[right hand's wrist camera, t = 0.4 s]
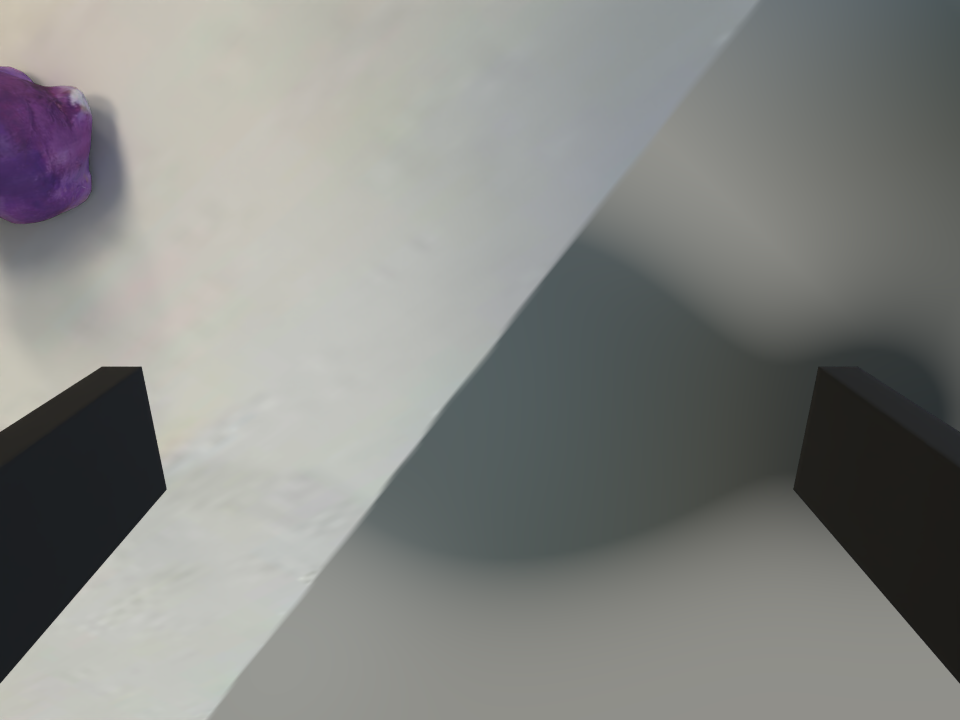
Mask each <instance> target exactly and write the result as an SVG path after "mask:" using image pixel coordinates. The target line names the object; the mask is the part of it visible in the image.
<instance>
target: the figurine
mask: <svg viewBox="0 0 960 720" xmlns="http://www.w3.org/2000/svg"><path fill="white" fill-rule="evenodd" d="M91 132H92V113H91V110H90V107H89V104H88V101H87V100H86V98H85V96H84V94H83V93H82V92H81V91H80V90H79V89H78V88H76V87H73V86H55V87H44V86H41V85H38V84H35V83H33V82H32V80H31V79H30V78H29V77H28V76H27V75H25V74H24V73H23V72H21V71H19V70H17V69H14V68H12V67H0V217H1V218H3V219H5V220H7V221H9V222H11V223H17V224H27V223H35V222H40V221H44V220H47V219H49V218H52V217H55V216H57V215H59V214H61V213H63V212H66V211H68V210H70V209H72V208H75V207H77V206H78V205H80V204H81V203H83V202H84V201H86V200H87V198H88V196H89V194H90V193H91V191H92V186H91V174H90V172H89V152H90V148H91Z"/></svg>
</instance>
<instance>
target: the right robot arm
mask: <svg viewBox="0 0 960 720" xmlns="http://www.w3.org/2000/svg"><path fill="white" fill-rule="evenodd" d="M166 490H167V489H166V484H165V479H164V474H163V469H162V464H161V459H160V454H159V450H158V445H157V440H156V435H155V430H154V425H153V420H152V415H151V410H150V406H149V401H148V396H147V391H146V386H145V381H144V376H143V371H142V367H101V368H99V369H98V370H96V371H95V372H93V373H91V374H90V375H88V376H87V377H85V378H84V379H82V380H81V381H79V382H77V383H76V384H74V385H73V386H71V387H70V388H68V389H67V390H65V391H63V392H62V393H60V394H59V395H57V396H56V397H54V398H53V399H51V400H49V401H48V402H46V403H45V404H43V405H42V406H40V407H38V408H37V409H35V410H34V411H32V412H31V413H29V414H28V415H26V416H24V417H23V418H21V419H20V420H18V421H17V422H15V423H14V424H12V425H10V426H9V427H7V428H6V429H4V430H3V431H1V432H0V683H1V682H2V681H3V680H4V678H5V677H6V676H7V675H8V674H9V673H10V671H11V670H12V669H13V668H14V667H15V666H16V664H17V663H18V662H19V661H20V660H21V659H22V657H23V656H24V655H25V654H26V653H27V652H28V650H29V649H30V648H31V647H32V646H33V645H34V643H35V642H36V641H37V640H38V639H39V638H40V636H41V635H42V634H43V633H44V632H45V631H46V629H47V628H48V627H49V626H50V625H51V624H52V622H53V621H54V620H55V619H56V618H57V617H58V615H59V614H60V613H61V612H62V611H63V610H64V608H65V607H66V606H67V605H68V604H69V603H70V601H71V600H72V599H73V598H74V597H75V596H76V594H77V593H78V592H79V591H80V590H81V589H82V587H83V586H84V585H85V584H86V583H87V582H88V580H89V579H90V578H91V577H92V576H93V575H94V573H95V572H96V571H97V570H98V569H99V568H100V567H101V565H102V564H103V563H104V562H105V561H106V560H107V558H108V557H109V556H110V555H111V554H112V553H113V551H114V550H115V549H116V548H117V547H118V546H119V544H120V543H121V542H122V541H123V540H124V539H125V537H126V536H127V535H128V534H129V533H130V532H131V530H132V529H133V528H134V527H135V526H136V525H137V523H138V522H139V521H140V520H141V519H142V518H143V516H144V515H145V514H146V513H147V512H148V511H149V509H150V508H151V507H152V506H153V505H154V504H155V502H156V501H157V500H158V499H159V498H160V497H161V495H162V494H163V493H164V492H165V491H166ZM794 491H795V492H796V493H797V494H798V495H799V497H800V498H801V499H802V500H803V501H804V502H805V504H806V505H807V506H808V507H809V508H810V509H811V511H812V512H813V513H814V514H815V515H816V516H817V518H818V519H819V520H820V521H821V522H822V523H823V525H824V526H825V527H826V528H827V529H828V530H829V532H830V533H831V534H832V535H833V536H834V537H835V539H836V540H837V541H838V542H839V543H840V544H841V546H842V547H843V548H844V549H845V550H846V551H847V552H848V554H849V555H850V556H851V557H852V558H853V559H854V561H855V562H856V563H857V564H858V565H859V566H860V568H861V569H862V570H863V571H864V572H865V573H866V575H867V576H868V577H869V578H870V579H871V580H872V582H873V583H874V584H875V585H876V586H877V587H878V589H879V590H880V591H881V592H882V593H883V594H884V596H885V597H886V598H887V599H888V600H889V601H890V603H891V604H892V605H893V606H894V607H895V608H896V610H897V611H898V612H899V613H900V614H901V615H902V617H903V618H904V619H905V620H906V621H907V622H908V624H909V625H910V626H911V627H912V628H913V629H914V631H915V632H916V633H917V634H918V635H919V636H920V638H921V639H922V640H923V641H924V642H925V643H926V645H927V646H928V647H929V648H930V649H931V650H932V652H933V653H934V654H935V655H936V656H937V657H938V659H939V660H940V661H941V662H942V663H943V664H944V666H945V667H946V668H947V669H948V670H949V671H950V673H951V674H952V675H953V676H954V677H955V678H956V680H957V681H958V682H959V683H960V432H959V431H957V430H956V429H954V428H953V427H951V426H950V425H948V424H946V423H945V422H943V421H942V420H940V419H939V418H937V417H936V416H934V415H932V414H931V413H929V412H928V411H926V410H925V409H923V408H922V407H920V406H918V405H917V404H915V403H914V402H912V401H911V400H909V399H907V398H906V397H904V396H903V395H901V394H900V393H898V392H897V391H895V390H893V389H892V388H890V387H889V386H887V385H886V384H884V383H882V382H881V381H879V380H878V379H876V378H875V377H873V376H872V375H870V374H869V373H867V372H865V371H864V370H862V369H861V368H859V367H818V371H817V376H816V381H815V386H814V391H813V396H812V401H811V406H810V411H809V415H808V420H807V425H806V430H805V435H804V440H803V445H802V450H801V454H800V459H799V464H798V469H797V474H796V479H795V484H794Z"/></svg>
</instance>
